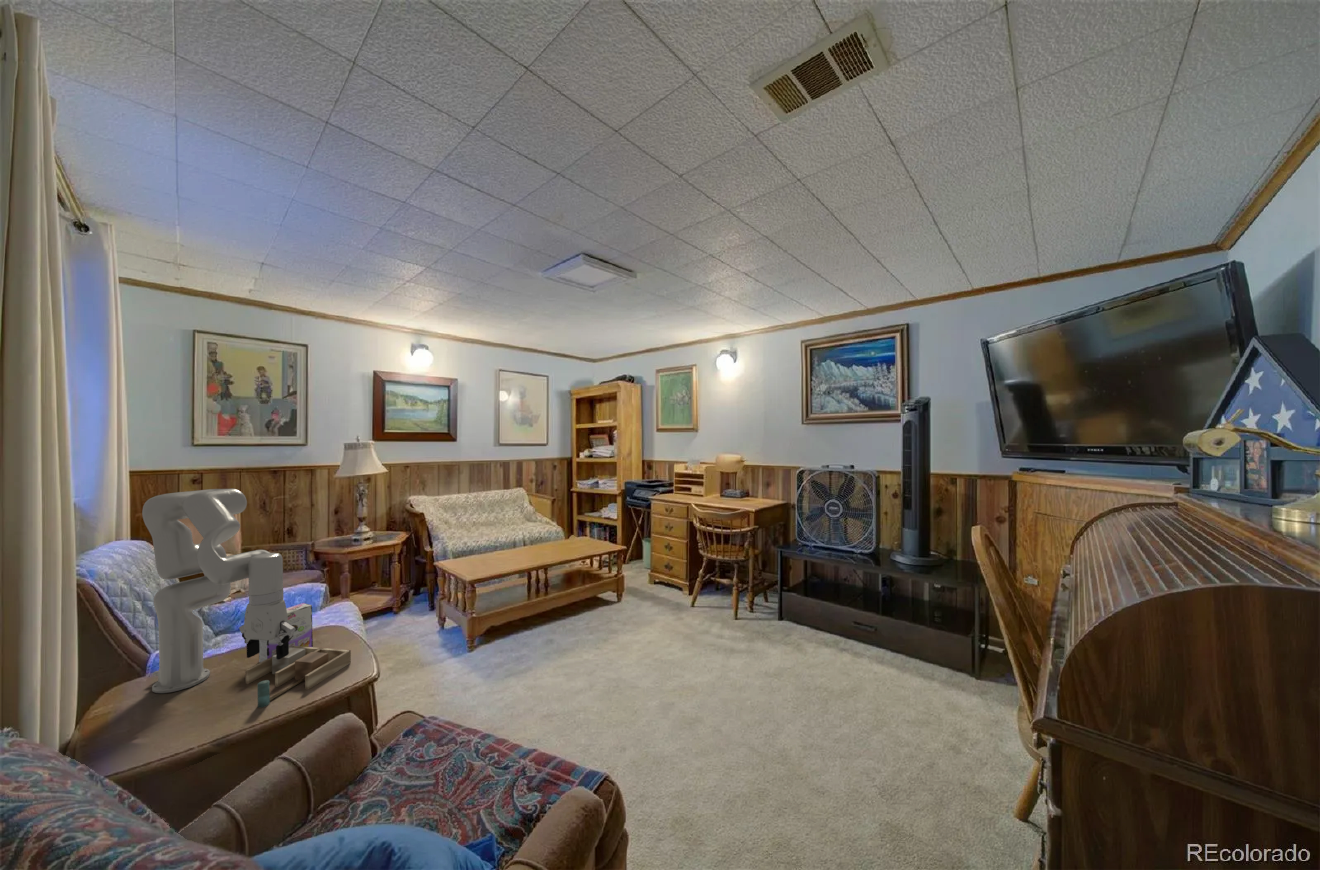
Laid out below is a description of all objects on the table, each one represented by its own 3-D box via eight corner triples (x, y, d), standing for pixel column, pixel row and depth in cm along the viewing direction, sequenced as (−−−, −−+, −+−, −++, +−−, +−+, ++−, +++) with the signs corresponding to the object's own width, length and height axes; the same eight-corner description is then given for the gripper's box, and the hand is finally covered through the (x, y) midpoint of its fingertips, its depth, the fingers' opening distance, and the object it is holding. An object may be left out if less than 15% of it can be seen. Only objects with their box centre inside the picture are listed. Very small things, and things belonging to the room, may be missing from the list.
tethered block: (250, 708, 130) (249, 684, 129) (312, 671, 149) (311, 650, 149) (268, 710, 129) (268, 686, 129) (328, 673, 148) (328, 651, 148)
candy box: (304, 646, 167) (304, 601, 167) (313, 649, 165) (313, 604, 164) (258, 663, 155) (257, 615, 154) (267, 667, 152) (266, 618, 152)
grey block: (272, 674, 147) (272, 656, 147) (289, 665, 153) (289, 647, 153) (288, 676, 146) (288, 657, 146) (305, 666, 152) (305, 648, 152)
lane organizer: (245, 686, 141) (245, 670, 141) (293, 660, 157) (293, 645, 157) (308, 692, 138) (307, 675, 138) (350, 665, 154) (350, 650, 154)
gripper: (226, 601, 128) (228, 661, 129) (280, 603, 126) (281, 664, 126) (253, 591, 136) (255, 648, 136) (304, 593, 133) (306, 651, 134)
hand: (267, 656), depth 131 cm, fingers open, 9 cm apart
